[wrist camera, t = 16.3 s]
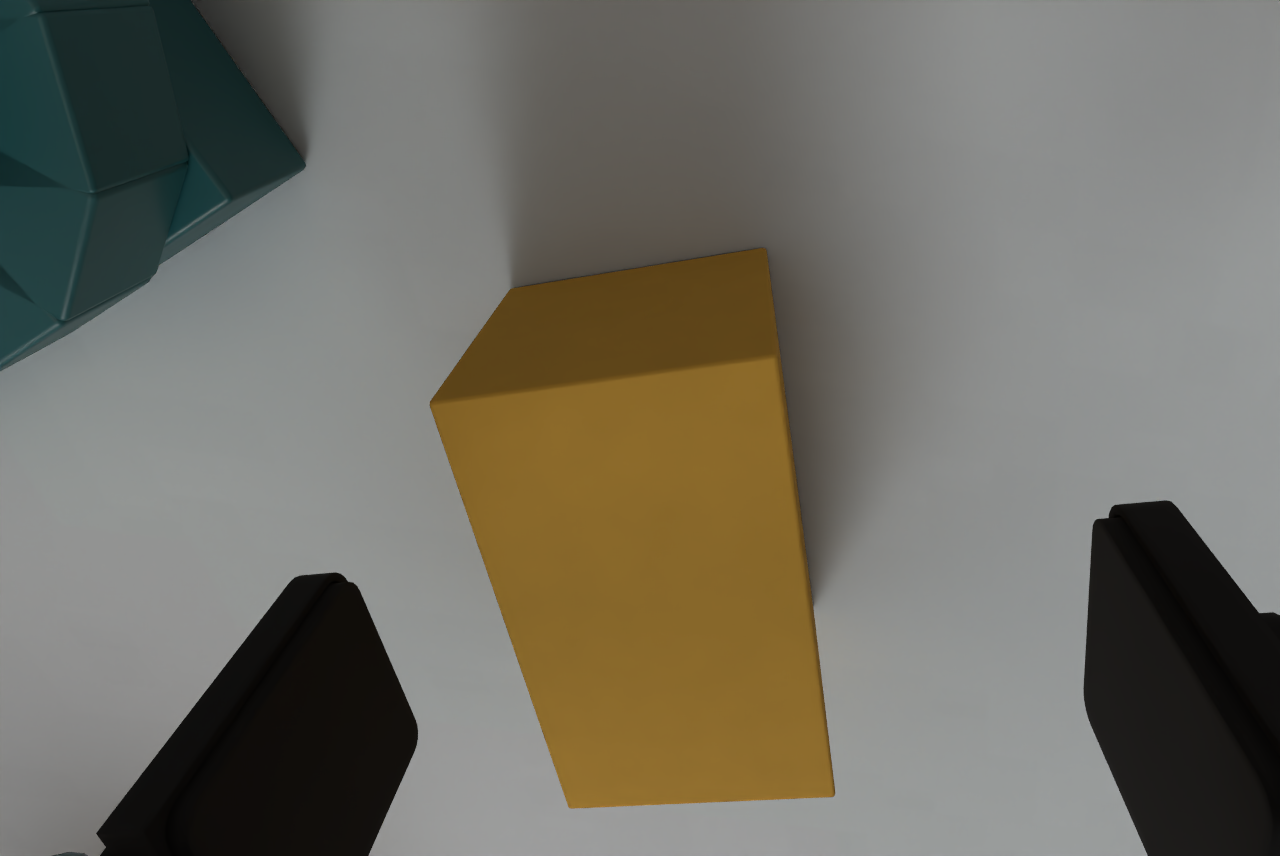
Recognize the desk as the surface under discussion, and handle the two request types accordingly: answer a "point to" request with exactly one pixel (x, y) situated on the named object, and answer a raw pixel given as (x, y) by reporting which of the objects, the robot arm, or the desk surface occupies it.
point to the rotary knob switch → (116, 154)
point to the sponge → (647, 531)
